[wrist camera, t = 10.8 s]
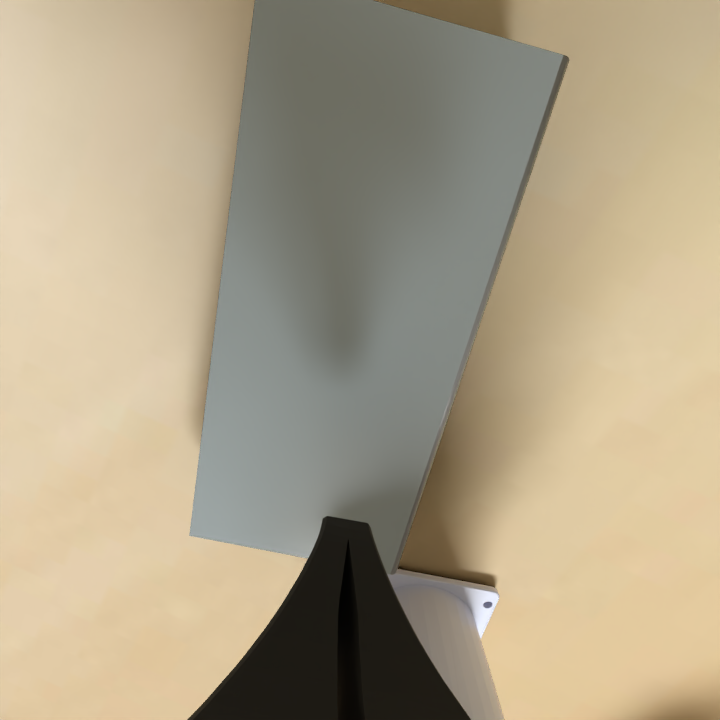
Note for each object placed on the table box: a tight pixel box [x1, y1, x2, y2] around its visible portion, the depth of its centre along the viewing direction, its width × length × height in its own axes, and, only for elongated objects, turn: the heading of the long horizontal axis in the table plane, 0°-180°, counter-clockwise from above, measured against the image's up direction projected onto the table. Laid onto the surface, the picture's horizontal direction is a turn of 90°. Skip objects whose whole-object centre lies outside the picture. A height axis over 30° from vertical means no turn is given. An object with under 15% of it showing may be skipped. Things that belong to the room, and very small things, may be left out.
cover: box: [189, 0, 569, 575], centre depth 14 cm, size 20×9×1 cm, turn 167°
